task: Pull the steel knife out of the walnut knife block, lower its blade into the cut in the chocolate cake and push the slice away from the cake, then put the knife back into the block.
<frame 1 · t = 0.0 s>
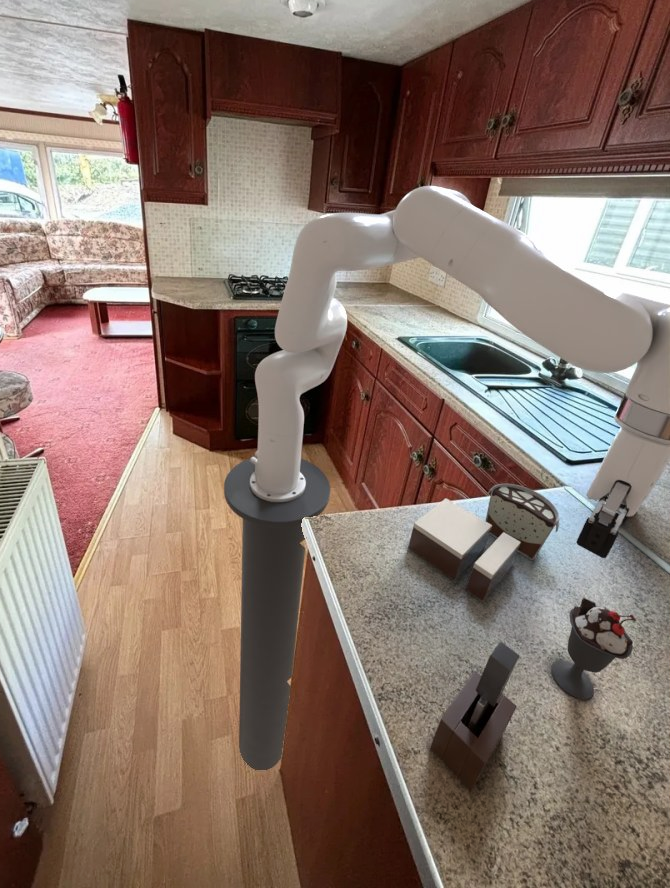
hand: (601, 532, 53), 20 cm above the countertop, tool pointing down, fingers open, 9 cm apart
cake: (446, 548, 75), on the countertop
food container: (514, 538, 78), on the countertop
knife block: (466, 741, 47), on the countertop
knife: (484, 701, 44), in the knife block
sundae: (571, 680, 55), on the countertop
cake slice: (489, 577, 69), on the countertop
pancake mix bag: (609, 508, 89), on the countertop
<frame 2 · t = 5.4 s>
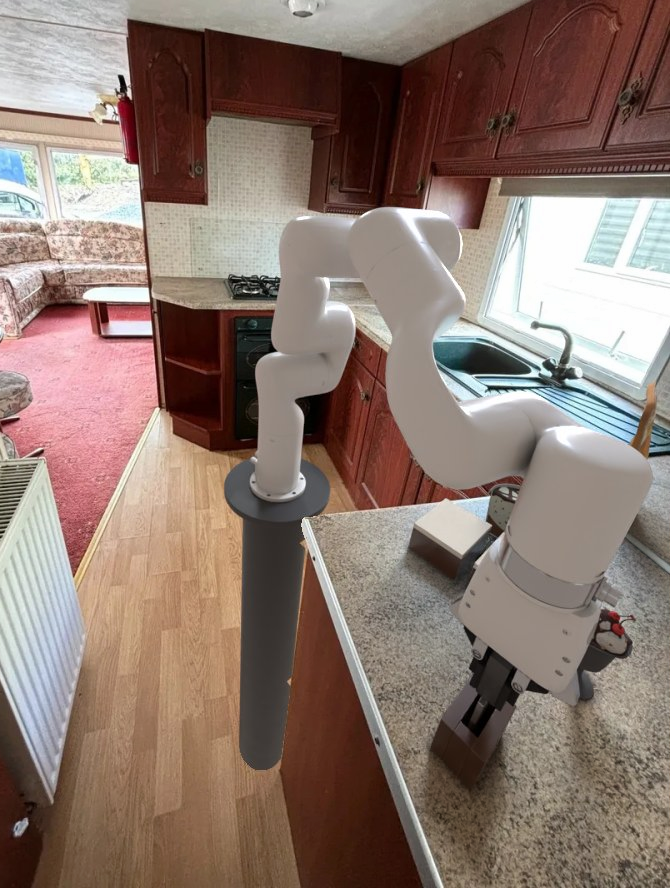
hand: (490, 687, 43), 11 cm above the countertop, tool pointing down, fingers closed on knife, 2 cm apart
knife: (484, 701, 44), in the knife block, touching gripper
everything else where it was.
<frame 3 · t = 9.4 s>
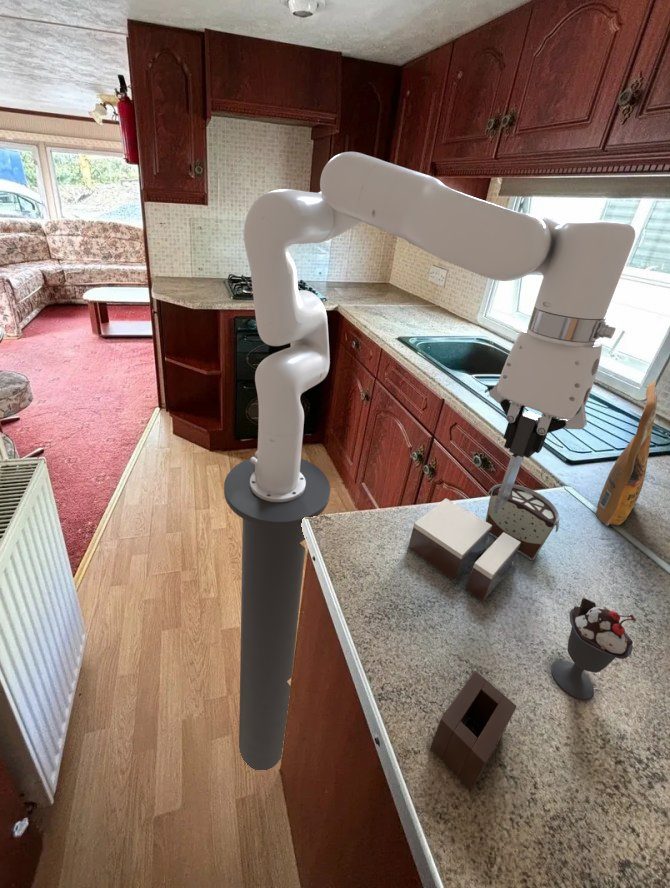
hand: (520, 448, 58), 26 cm above the countertop, tool pointing down, fingers closed on knife
knife: (515, 463, 59), point 24 cm above the countertop, touching gripper
everything else where it was.
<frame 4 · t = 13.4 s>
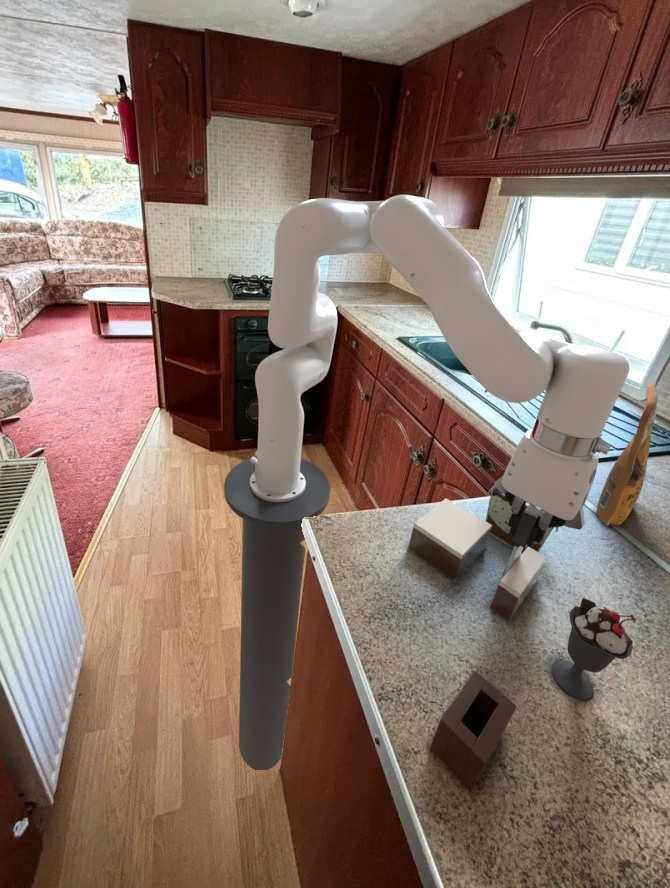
hand: (523, 536, 63), 11 cm above the countertop, tool pointing down, fingers closed on knife, 2 cm apart
knife: (517, 550, 64), on the countertop, touching cake slice, gripper
cake slice: (513, 594, 66), on the countertop, touching knife
everything else where it was.
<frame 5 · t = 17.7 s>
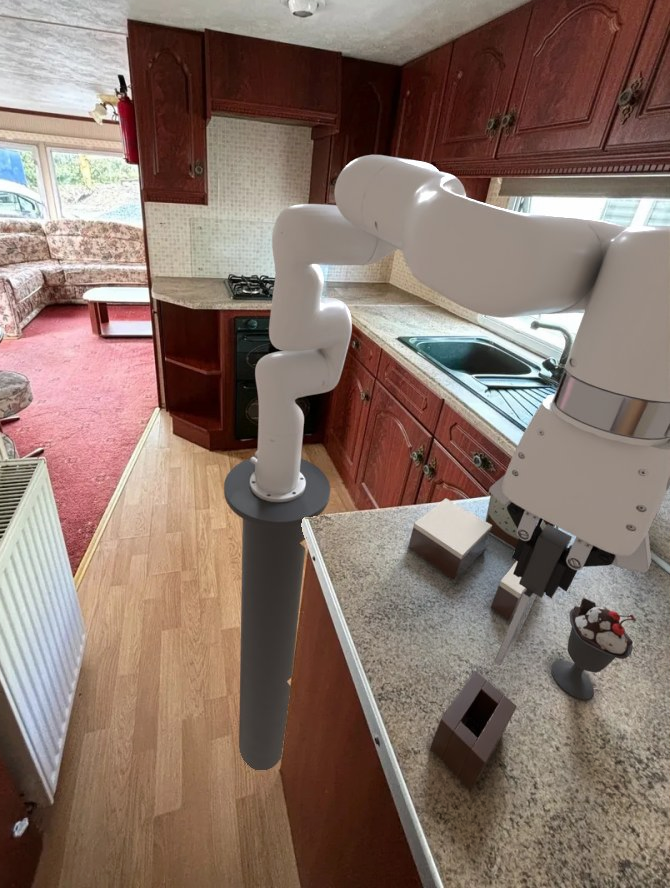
hand: (537, 576, 38), 26 cm above the countertop, tool pointing down, fingers closed on knife
knife: (528, 598, 39), point 23 cm above the countertop, touching gripper
cake slice: (513, 595, 66), on the countertop
everything else where it was.
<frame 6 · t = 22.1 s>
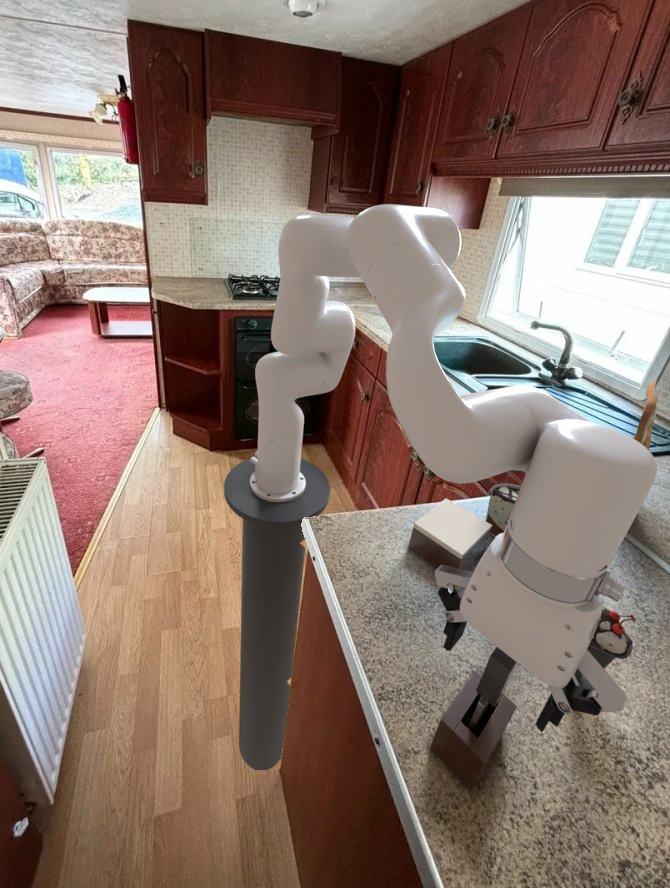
hand: (494, 677, 42), 12 cm above the countertop, tool pointing down, fingers open, 9 cm apart
knife: (484, 702, 44), in the knife block
everything else where it was.
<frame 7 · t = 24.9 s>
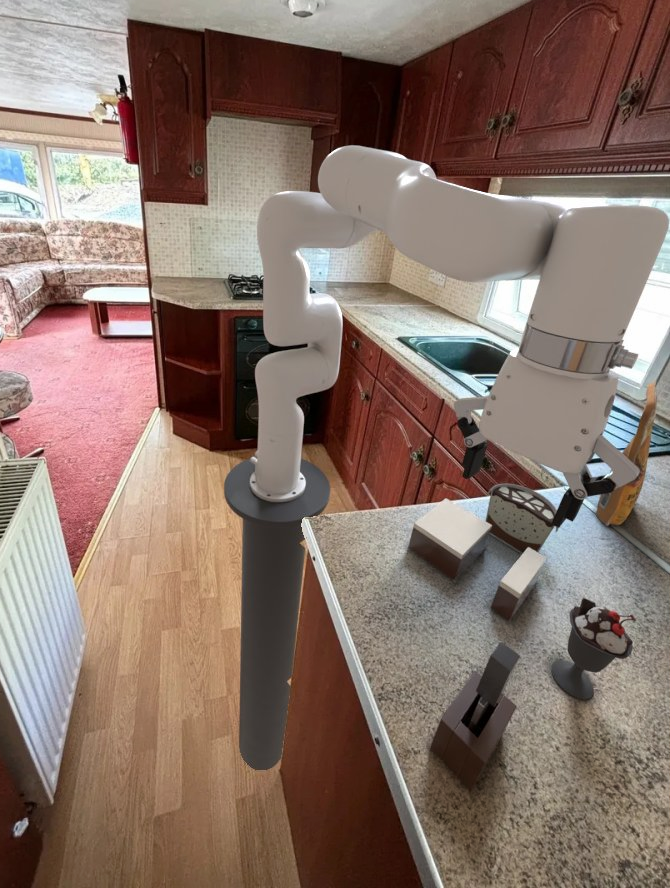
hand: (512, 495, 45), 28 cm above the countertop, tool pointing down, fingers open, 9 cm apart
nothing on the countertop moved.
at the end: cake slice moved 4.2 cm from its start; cake slice tilted 0°; knife 0.1 cm off-centre on the knife block, point 8.0 cm above the knife block's base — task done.
